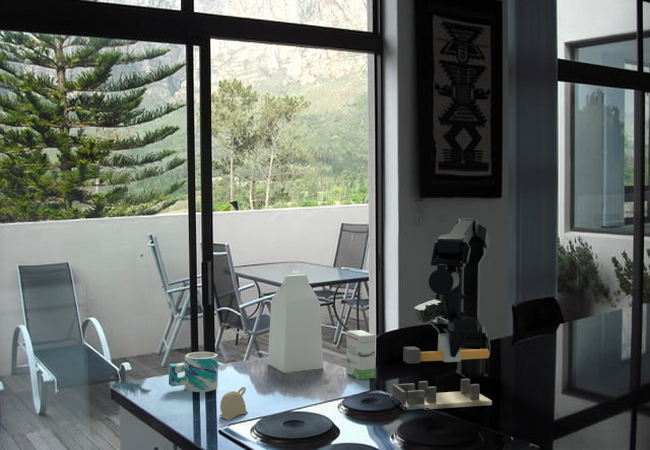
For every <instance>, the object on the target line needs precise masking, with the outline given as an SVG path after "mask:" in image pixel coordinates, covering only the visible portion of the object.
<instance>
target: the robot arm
mask: <svg viewBox="0 0 650 450" xmlns="http://www.w3.org/2000/svg"><path fill="white" fill-rule="evenodd" d="M433 245H434V246H433V251H432V256H431V260H430V266H432V267H436V270H434V271H433V272H431V274H429V277H428V286H429V288H430V290H431V292H433V293H435V294H434V295H433V299H432V300H428V301H426V302H423V303H420V304H418V305H416V306H414V311H415V314H416V315H415V316H416V317H417V320H418V321H421V322H422V323H427V322H429V324H430V325H431V326H433V328H434V329H436V331H437V335H438V334H440V333H447V334H448V336H449V346H450V354H451V357H456V355H457V353H458V351H459V349H460V347H461V350H474V349H488V350H489V353H490V354H491V343H490V338H489V337H488V333H487V332H486V324H485V323H484V321H483V320H482V317H481V315H480V306H481V305H480V303H481V297H480V296H481V263H482V261H483V259H484V258H485V257H486V254H487V250H488V249H489V246H490V236H489V232H488V229H487V228H486V227H484V226H483V225H481V224H480V223H479V221H478V219H475V218H470V217H469V218H465V217H462V218H458V219H457V220H456V225H455V226H454V227H453V229H452V230H451V232H449V233H447V234H441V235H439V236H438V238H437V239H436V240H435V241H434V244H433ZM431 320H432V321H431ZM485 361H486V358H480V359H460V361H459V362H456V364H457V366H456V370H455V371H456V372H455V373H456V374H457V375H460V376H462V377H464V379H470V378H471V379H472V378H473V379H474V378H487V377H488V374H486V373H485V368H486V367H485V365H486V364H485Z"/></svg>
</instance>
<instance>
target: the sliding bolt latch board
mask: <svg viewBox="0 0 650 450" xmlns="http://www.w3.org/2000/svg"><path fill="white" fill-rule="evenodd" d="M480 386H481V385H480V384H479V383H471V379H470V378H460V391H448V392H447V391H446V392H437V387H436V386H434V385H433V386H429V382H428V381H427V380H421V381H418V389H416V384H415V383H398V384H396V383H395V384H392V387H391V388H392V389H391V392H392V394H391V396H393V397H395V398H397V399H398V400H399V401H400V402H401V403H402V405H403V406H404V407H406V408H416V407H424V408H429V409H428V410H434V409H435V410H437V409H450V408H465V407H467V408H469V407H479V406H480V407H481V406H492V405H493V401H492V400H491V399H490V398H488V397H487V396H485V395H483V394H481V393H480V388H481V387H480Z"/></svg>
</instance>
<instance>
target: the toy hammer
mask: <svg viewBox="0 0 650 450" xmlns="http://www.w3.org/2000/svg"><path fill="white" fill-rule="evenodd" d="M437 335H438V337H437V341H438V342H437V350H436V351H435V350H432V351H431V350H430V351H421V349H420V348H419V347H416V346H403V348H402V349H403V350H402V355H403V356H402V361H403V362H404V363H406V364H407V365H408V364H421V362H437V361H438V362H439V361H442V362H444V363H453V362H454V363H457V362H459V361H460V359H480V358H485V359H490V355H491V352H490V353H489V350H488V349H484V348H482V349H474V350H461V347H460V349H459V351H458V353H457V355H456V357H451V354H450V346H449V336H448V334H447V333H440V334H438V333H437Z"/></svg>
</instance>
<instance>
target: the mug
mask: <svg viewBox="0 0 650 450" xmlns="http://www.w3.org/2000/svg"><path fill="white" fill-rule="evenodd" d="M183 371H184V375H178V372H183ZM218 379H219V355H218V354H217V353H215V352H211V351H194V352H189V353H186V354H185V355H184V362H179V363H169V364H168V385H169V386H171V387H172V388H173V387H178V386H184V390H187V391H188V392H196V393H204V392H205V393H206V392H211V391H216V390H217V388H218V386H219V385H218V384H219V383H218V381H219V380H218Z"/></svg>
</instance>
